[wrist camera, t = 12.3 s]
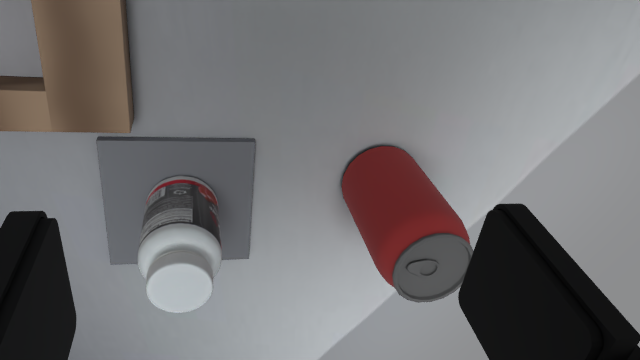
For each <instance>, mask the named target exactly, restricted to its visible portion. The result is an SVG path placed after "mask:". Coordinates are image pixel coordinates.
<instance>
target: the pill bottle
mask: <svg viewBox="0 0 640 360" xmlns="http://www.w3.org/2000/svg"><path fill="white" fill-rule="evenodd" d="M221 261H222V248H221V238H220V225H219V210H218V202H217V198H216V195H215V193H214V192H213V190H212V189H211V188H210V187H209V186H208V185H207V184H206V183H204V182H203V181H201V180H199V179H196V178H193V177H187V176H175V177H171V178H168V179H165V180H163V181H161V182H159V183H158V184H157V185H156V186H155V187H154V188H153V189H152V190H151V192H150V193H149V195H148V198H147V201H146V206H145V211H144V218H143V224H142V231H141V237H140V244H139V250H138V266H139V270H140V272H141V274H142V276H143V277H144V278H145V280H146V292H147V296H148V298H149V300H150V301H151V302H152V303H153V304H154V305H155V306H156V307H158V308H159V309H161V310H164V311H167V312H172V313H183V312H189V311H192V310H195V309H197V308H199V307H200V306H202V305H203V304H204V303H205V302H207V300H208V299H209V298H210V296H211V294H212V290H213V278H214V277H215V276H216V274H217V273H218V271H219V268H220V265H221Z"/></svg>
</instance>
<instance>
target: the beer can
mask: <svg viewBox="0 0 640 360" xmlns="http://www.w3.org/2000/svg"><path fill="white" fill-rule="evenodd" d="M342 192H343V197H344V200H345V202H346V204H347V206H348V208H349V210H350V212H351V214H352V217H353V219H354V221H355V223H356V225H357V227H358V229H359V231H360V234H361V236H362V238H363V240H364V242H365V244H366V246H367V248H368V251H369V253H370V255H371V257H372V259H373V261H374V263H375V265H376V268H377V269H378V271H379V272H380V274H381V275H382V277H383V278H384V279H385V280H386V281H387V282H388V283H389V284H390V285H392V286H393V287H394V288H395V289H396V290H397V292H398V293H399V295H401V296H402V297H404V298H406V299H407V300H410V301H415V302H432V301H435V300H438V299H442V298H444V297H446V296H448V295H449V294H451V293H453V292H455V291H456V290H457V289H458V288H459V287H460V286H461V285H462V282H463V280H464V277H465V274H466V271H467V268H468V266H469V263H470V260H471V257H472V254H473V252H474V251H473V249H472V247H471V245H470V241H469V236H468V234H467V231H466V229H465V227H464V224H463V222H462V220H461V219H460V218H459V216H458V215H457V214H456V213H455V211H454V210H453V209H452V208H451V206H450V205H449V204H448V202H447V201H446V200H445V199H444V197H443V196H442V195H441V194H440V192H439V191H438V190H437V188H436V187H435V186H434V185H433V183H432V182H431V181H430V179H429V178H428V177H427V176H426V174H425V173H424V172H423V171H422V169H421V168H420V167H419V165H418V164H417V163H416V162H415V160H414V159H413V158H412V157H411V156H410V155H409V154H408V153H407V152H405V151H404V150H401V149H399V148H396V147H390V146H380V147H376V148H372V149H369V150H367V151H365V152H364V153H362V154H360V155H358V156H357V157H356V158H355V159H354V160H353V161H352V162H351V163H350V164H349V166H348V168H347V170H346V172H345V174H344V176H343V181H342Z"/></svg>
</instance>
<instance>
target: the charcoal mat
mask: <svg viewBox="0 0 640 360" xmlns="http://www.w3.org/2000/svg"><path fill="white" fill-rule="evenodd" d="M96 141H97V150H98V158H99V167H100V176H101V185H102V194H103V202H104V211H105V220H106V229H107V238H108V246H109V255H110V264H111V265H116V264H138V250H139V244H140V237H141V231H142V224H143V218H144V211H145V206H146V201H147V198H148V195H149V193H150V192H151V190H152V189H153V188H154V187H155V186H156V185H157V184H158V183H159V182H161V181H163V180H165V179H168V178H171V177H175V176H187V177H193V178H196V179H199V180H201V181H203V182H204V183H206V184H207V185H208V186H209V187H210V188H211V189H212V190H213V192H214V193H215V195H216V198H217V202H218V210H219V225H220V238H221V248H222V260H230V259H249V244H250V226H251V208H252V191H253V173H254V155H255V139H235V138H155V137H98V138H97V140H96Z"/></svg>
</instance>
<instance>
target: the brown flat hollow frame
mask: <svg viewBox="0 0 640 360" xmlns="http://www.w3.org/2000/svg"><path fill="white" fill-rule="evenodd" d="M31 3H32V9H33V15H34V21H35V28H36V34H37V40H38V46H39V53H40V59H41V65H42V72H43V78H41V77H14V76H0V131H32V132H102V133H130V132H131V128H132V124H133V120H134V110H133V97H132V83H131V69H130V55H129V41H128V27H127V13H126V0H31Z"/></svg>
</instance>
